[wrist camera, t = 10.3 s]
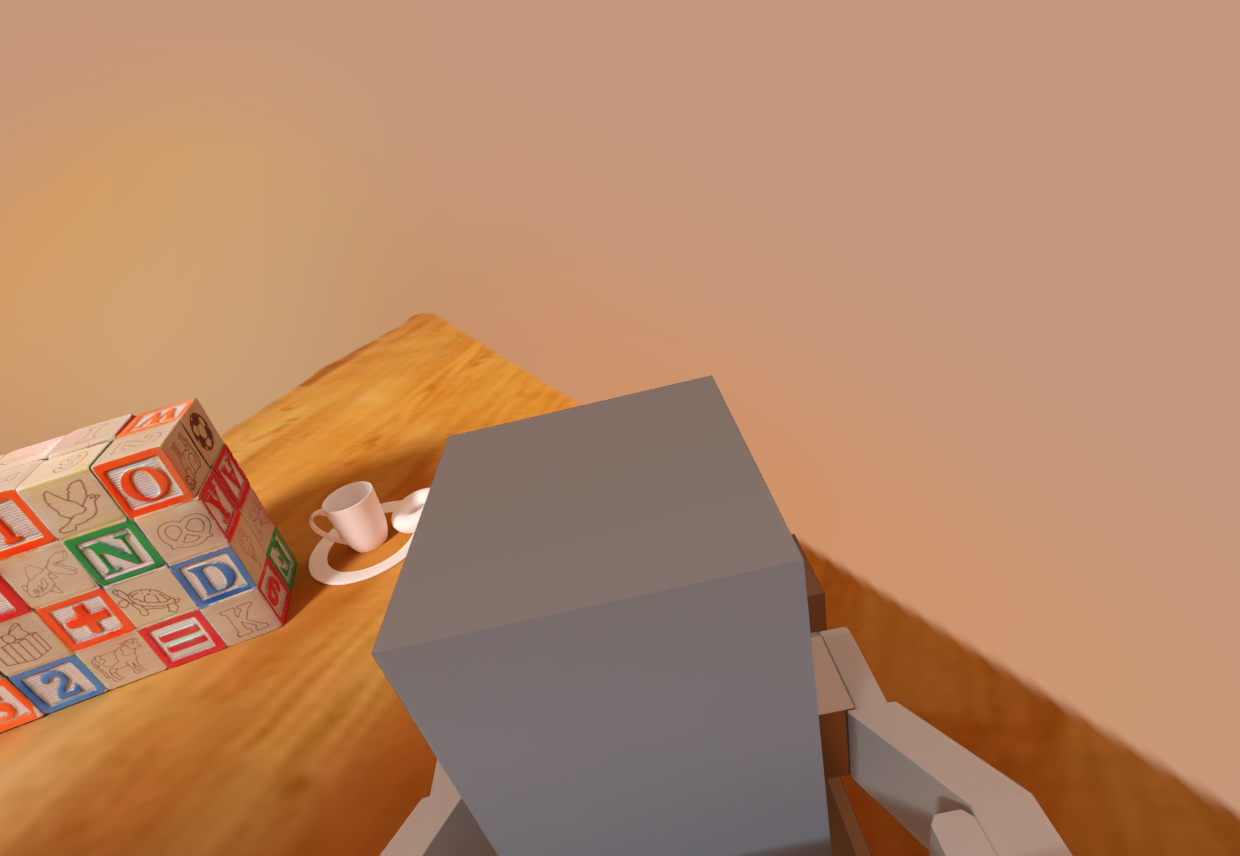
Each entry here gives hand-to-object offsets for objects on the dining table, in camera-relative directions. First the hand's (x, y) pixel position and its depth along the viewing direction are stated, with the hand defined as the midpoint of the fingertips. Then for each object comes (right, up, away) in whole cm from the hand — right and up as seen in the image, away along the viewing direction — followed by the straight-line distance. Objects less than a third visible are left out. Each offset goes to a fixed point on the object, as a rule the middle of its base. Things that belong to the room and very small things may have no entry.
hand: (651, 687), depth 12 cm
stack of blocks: (-30, -9, +23) cm, 39 cm away
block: (+1, -6, +2) cm, 7 cm away
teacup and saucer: (-14, -3, +26) cm, 30 cm away
